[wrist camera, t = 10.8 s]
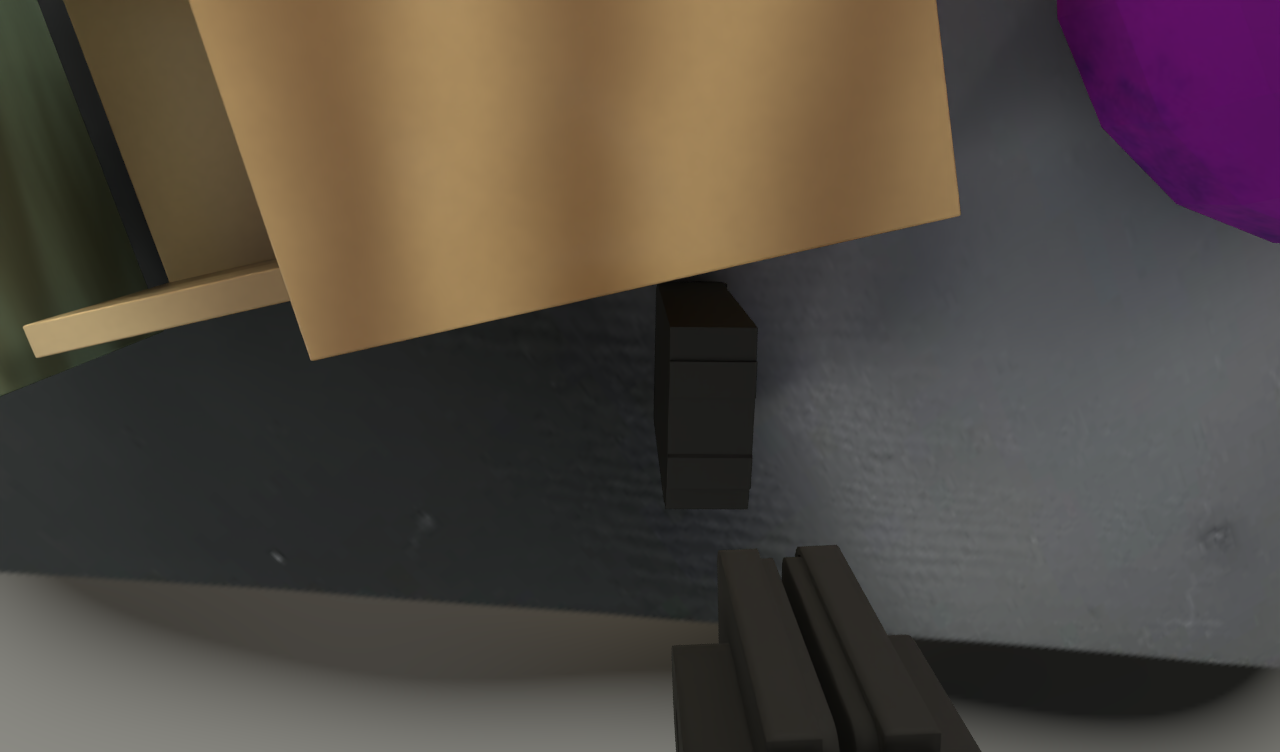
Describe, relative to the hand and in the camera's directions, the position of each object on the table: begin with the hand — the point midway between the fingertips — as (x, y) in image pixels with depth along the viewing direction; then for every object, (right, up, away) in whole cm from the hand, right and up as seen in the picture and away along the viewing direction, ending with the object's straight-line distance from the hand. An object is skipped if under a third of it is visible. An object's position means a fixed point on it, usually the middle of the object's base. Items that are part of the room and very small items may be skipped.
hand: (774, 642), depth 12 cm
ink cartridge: (0, +5, +17) cm, 18 cm away
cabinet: (-4, +14, +14) cm, 20 cm away
